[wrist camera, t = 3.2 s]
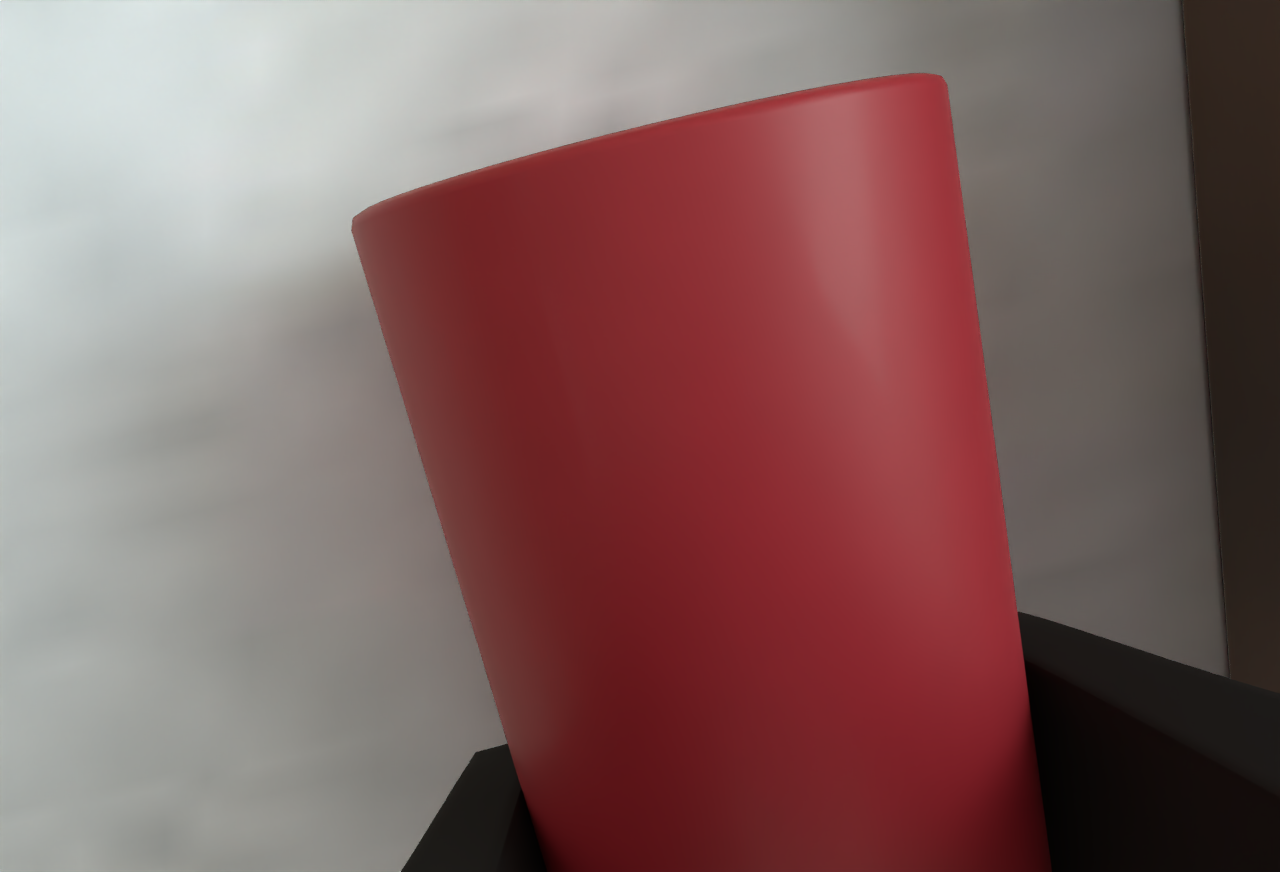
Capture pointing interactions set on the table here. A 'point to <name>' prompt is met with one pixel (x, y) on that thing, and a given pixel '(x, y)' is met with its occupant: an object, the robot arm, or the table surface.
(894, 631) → the red cylinder
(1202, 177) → the dark wooden tray
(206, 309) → the table surface
